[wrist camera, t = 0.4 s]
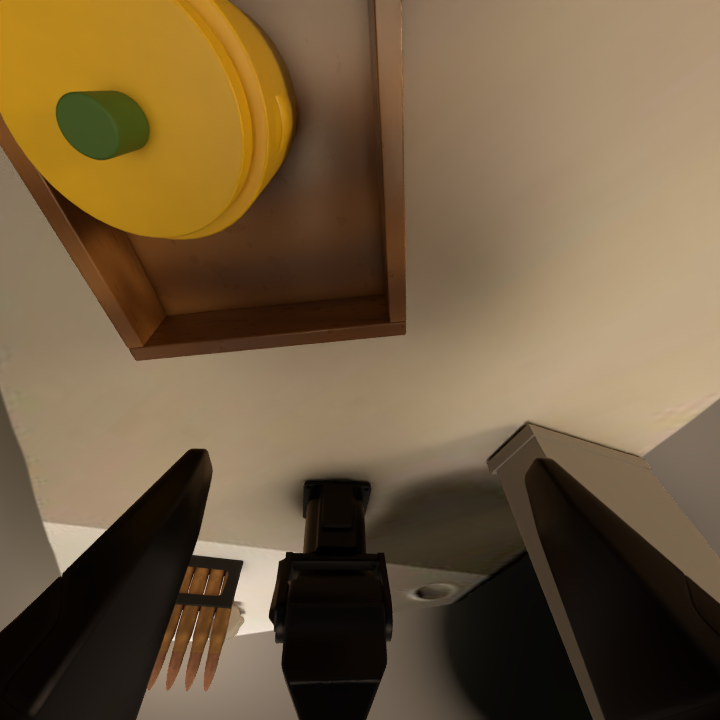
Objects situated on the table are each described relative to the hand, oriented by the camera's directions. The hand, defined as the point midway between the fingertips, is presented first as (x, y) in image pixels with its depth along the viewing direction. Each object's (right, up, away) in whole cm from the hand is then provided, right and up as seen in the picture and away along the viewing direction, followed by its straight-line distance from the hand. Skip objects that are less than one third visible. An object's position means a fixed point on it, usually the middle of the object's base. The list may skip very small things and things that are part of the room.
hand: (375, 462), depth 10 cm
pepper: (-6, +13, +4) cm, 15 cm away
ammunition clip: (-21, -22, +34) cm, 46 cm away
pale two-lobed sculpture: (-21, -36, +45) cm, 62 cm away
